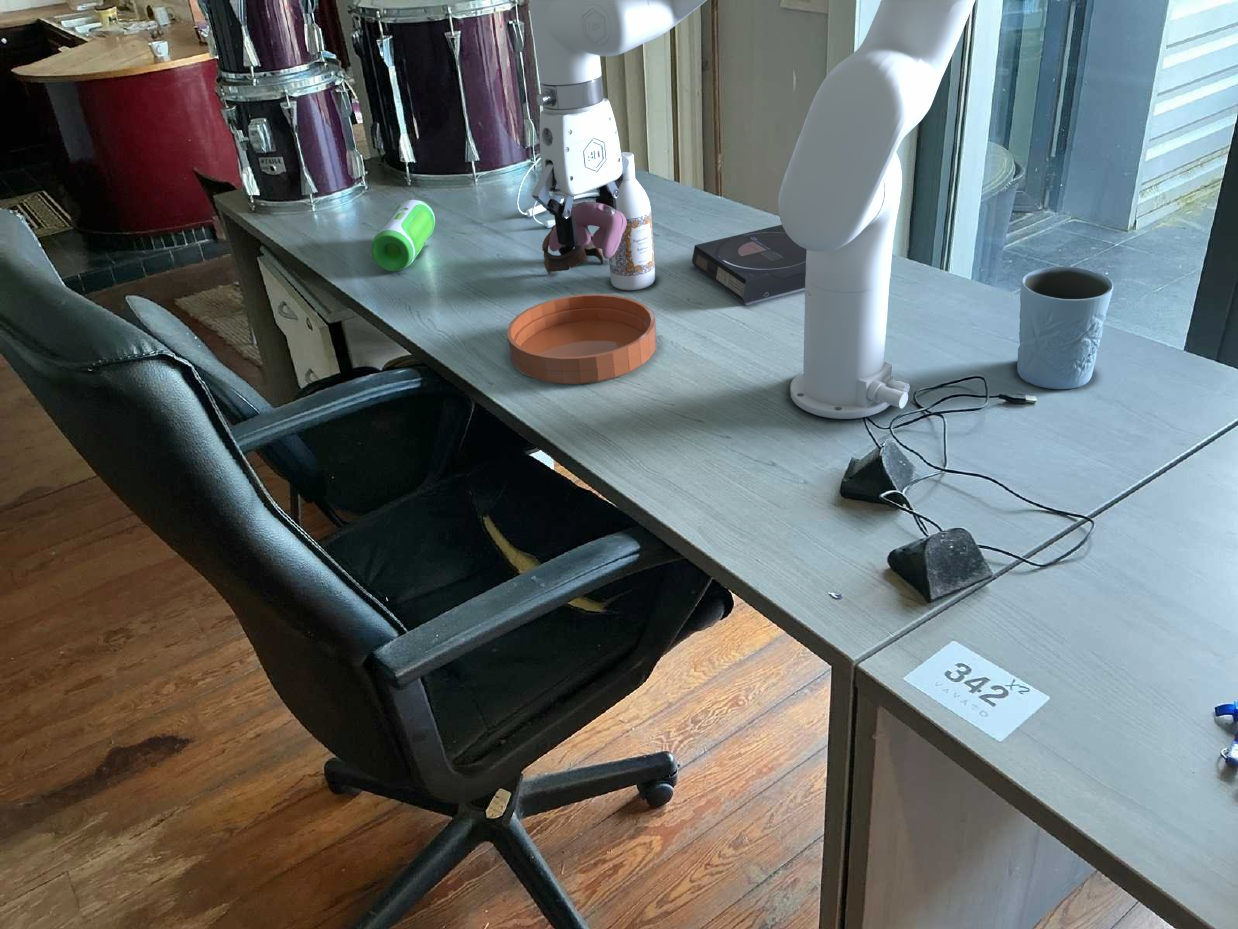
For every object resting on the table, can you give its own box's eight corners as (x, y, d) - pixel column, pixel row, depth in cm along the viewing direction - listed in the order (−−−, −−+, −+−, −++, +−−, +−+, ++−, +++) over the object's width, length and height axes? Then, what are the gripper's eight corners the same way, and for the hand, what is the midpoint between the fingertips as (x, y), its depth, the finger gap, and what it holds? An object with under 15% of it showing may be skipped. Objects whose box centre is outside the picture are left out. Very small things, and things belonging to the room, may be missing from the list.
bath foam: (627, 295, 158) (616, 165, 147) (602, 282, 163) (590, 155, 153) (664, 282, 161) (656, 154, 150) (638, 270, 166) (629, 144, 155)
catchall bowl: (686, 343, 143) (685, 317, 141) (580, 401, 132) (576, 373, 129) (586, 307, 156) (584, 283, 153) (481, 357, 144) (476, 331, 142)
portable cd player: (692, 269, 165) (691, 245, 163) (785, 247, 170) (785, 223, 168) (742, 306, 152) (742, 280, 150) (842, 280, 157) (843, 255, 155)
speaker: (401, 237, 188) (393, 196, 184) (441, 235, 187) (433, 195, 183) (373, 275, 173) (364, 232, 169) (416, 274, 172) (407, 230, 168)
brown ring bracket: (618, 269, 168) (599, 236, 162) (571, 305, 168) (551, 273, 162) (583, 232, 175) (564, 198, 169) (538, 265, 175) (517, 233, 169)
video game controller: (626, 262, 135) (634, 207, 134) (607, 258, 131) (615, 202, 130) (563, 253, 140) (570, 200, 138) (544, 250, 136) (551, 195, 135)
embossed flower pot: (1086, 398, 123) (1104, 305, 116) (999, 382, 127) (1011, 291, 121) (1103, 362, 130) (1120, 271, 123) (1019, 348, 134) (1032, 260, 128)
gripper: (539, 114, 118) (559, 263, 128) (644, 80, 128) (655, 220, 138) (497, 108, 123) (519, 252, 132) (601, 75, 133) (615, 211, 142)
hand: (588, 234), depth 135 cm, fingers closed on video game controller, 6 cm apart
